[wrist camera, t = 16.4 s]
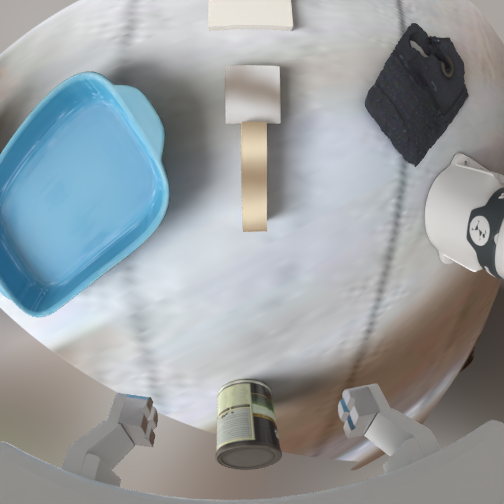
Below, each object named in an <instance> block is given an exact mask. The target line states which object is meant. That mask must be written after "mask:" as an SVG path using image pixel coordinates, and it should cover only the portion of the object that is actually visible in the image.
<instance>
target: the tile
mask: <svg viewBox="0 0 504 504" xmlns="http://www.w3.org/2000/svg"><path fill="white" fill-rule="evenodd" d="M208 28H209V31H219V30H281V31H291V30H292V28H293V18H292V7H291V0H209V11H208Z"/></svg>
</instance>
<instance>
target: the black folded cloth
mask: <svg viewBox="0 0 504 504" xmlns="http://www.w3.org/2000/svg"><path fill="white" fill-rule="evenodd" d="M410 40H412V41H415V42H416V43H417V44H418V45H419V46H420V47H421V48H422V49H423V51H424V53H425V54H426V55H428V56H429V57H428V58H426V57H423V56H422V55H421V54H420V52H419V51H416V50H415V48H411V45H410ZM464 74H465V72H464V63H463V61H462V59H461V58H460V56H459V55H458V53H457V52H456V50H455V48H454V45H453V43H452V42H451V40H450V38H437V37H435V36H434V37H431V36H430V38H428V36H427V33H426V32H425V31H423V29H422V28H421V27H419V25H418V24H416V23H412V24H411V26H409V27H408V29H407V31H406V32H405V34H404V35H403V36H402V38H401V39H400V41H399V42H398V44H397V45H396V47H395V50H393V53H391V56H390V57H389V59H388V60H387V61H386V63H385V66H384V69H383V70H382V71H381V73H380V75H379V77H378V79H377V80H376V83H375V85H374V86H372V87H371V89H370V90H369V92H368V95H367V97H366V100H365V107H366V109H367V110H368V112H369V113H370V115H371V116H372V117H373V118H374V119H375V121H376V122H377V123H378V125H379V126H380V128H381V130H382V132H384V134H385V135H386V136H387V137H388V138H390V140H391V142H392V144H393V146H394V147H395V148H396V149H397V150H398V151H399V153H401V154H402V155H403V157H404V159H405V160H407V161H408V162H409V163H412V164H414V165H415V167H416V166H417V165H418V164H419V163H420V161H421V160H422V159H423V158H424V156H425V155H426V153H427V151H428V150H429V149H430V148H431V147H432V146H433V145H434V144H435V142H436V141H437V139H439V137H440V136H441V135H442V134H443V133H444V131H445V130H446V129H447V127H448V125H449V124H450V123H451V122H452V120H453V118H454V117H455V116H456V114H457V113H458V111H459V109H460V108H461V107H462V106H463V103H464V102H465V100H466V99H467V97H468V93H467V89H466V87H465V84H464Z"/></svg>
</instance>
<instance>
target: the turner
mask: <svg viewBox="0 0 504 504" xmlns="http://www.w3.org/2000/svg"><path fill="white" fill-rule="evenodd" d="M225 120H226V124H241V177H242V224H243V232H254V231H267V124H280V123H281V119H280V66H263V65H230V66H225Z"/></svg>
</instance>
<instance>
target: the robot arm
mask: <svg viewBox="0 0 504 504" xmlns="http://www.w3.org/2000/svg"><path fill="white" fill-rule="evenodd" d="M425 226H426V231H427V234H428V237H429V239H430V241H431V242H432V244H433V245H434V246H435V247H436V248H437V250H438V252H439V256H440V259H441V262H443V263H444V264H450V263H453V262H457V263H458V264H460V265H462V266H464V267H466V268H467V269H469V270H471V271H473V272H476V271H478V270H481V269H484V270H486V271H487V272H488V273H489V274H490V275H492V276H494V277H497V278H498V279H504V175H502V174H499V173H495V172H492V171H491V172H490V171H489V170H487V169H486V168H484V167H483V166H481V165H480V164H478V163H477V162H475V161H474V160H472V159H471V158H469V157H467V156H466V155H464V154H462V153H457V154H456V155H455V156H454V158H453V160H452V162H451V164H450V165H449V166H448V167H447V168H446V169H445V170H444V171H442V172H441V173H440V174H439V175H438V177H437V178H436V179H435V181H434V183H433V184H432V186H431V189H430V191H429V194H428V197H427V201H426V207H425ZM342 395H343V399H342V400H340V402H339V405H338V412H339V417H340V419H341V420H342V421H343V422H345V424H344V426H343V428H344V431H345V434H346V436H347V438H351V437H356V436H361V435H364V436H366V437H367V438H368V439H369V440H370V441H372V442H373V443H374V444H375V445H376V446H378V447H379V448H380V449H381V450H383V451H384V452H385V453H386V454H388V455H389V456H390V458H389V459H388V460H387V461H386V463H385V464H384V465H383V468H384V471H385V474H382V475H379V476H376V477H373V478H370V479H366V480H363V481H360V482H356V483H353V484H349V485H345V486H341V487H337V488H332V489H328V490H323V491H318V492H312V493H307V494H300V495H295V496H286V497H277V498H266V499H251V500H206V499H191V498H180V497H172V496H164V495H157V494H151V493H145V492H140V491H135V490H130V489H125V488H121V487H120V482H121V479H120V478H119V476H117V475H116V474H115V473H114V472H113V471H112V469H113V468H114V467H115V466H116V465H117V464H118V463H119V462H120V461H121V460H122V459H123V458H124V457H125V455H127V454H128V453H129V452H130V451H131V450H132V448H133V447H134V446H135V445H139V446H147V447H153V444H154V439H155V434H154V432H153V430H154V429H155V428H156V427H157V421H158V415H157V411H156V408H155V407H153V406H152V404H153V401H152V399H151V397H143V396H136V395H129V394H122V393H117V394H116V395H115V398H114V401H113V404H112V406H111V409H110V412H109V415H108V418H107V421H102V422H101V423H100V424H98V425H97V426H96V427H95V428H93V429H92V430H91V431H89V432H88V433H87V434H85V435H84V436H83V437H81V438H80V439H78V440H77V441H76V442H74V443H73V444H72V445H70V446H69V449H68V451H67V454H66V457H65V460H64V463H63V466H62V469H61V468H59V467H56V466H54V465H52V464H49V463H47V462H45V461H42V460H40V459H38V458H36V457H34V456H32V455H30V454H28V453H26V452H24V451H22V450H20V449H18V448H17V447H14V446H13V445H11V444H9V443H7V442H0V504H504V424H503V423H501V422H499V421H495V420H490V421H488V422H486V423H485V424H483V425H482V426H480V427H479V428H477V429H476V430H474V431H473V432H471V433H469V434H468V435H466V436H464V437H463V438H461V439H459V440H458V441H456V442H454V443H452V444H450V445H449V446H447V447H445V448H443V449H441V448H440V446H439V445H438V443H437V441H436V439H435V437H434V435H433V434H432V432H431V430H430V429H428V428H427V427H425V426H423V425H421V424H420V423H418V422H416V421H414V420H413V419H411V418H409V417H407V416H406V415H404V414H402V413H401V412H399V411H397V410H395V409H394V408H393V409H391V408H390V406H389V404H388V403H387V401H386V399H385V397H384V395H383V393H382V391H381V389H380V388H379V386H378V384H371V385H366V386H360V387H356V388H351V389H346V390H344V392H343V394H342Z"/></svg>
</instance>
